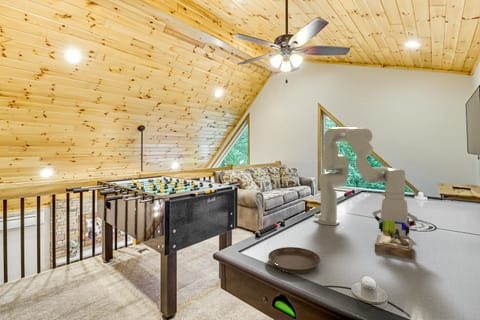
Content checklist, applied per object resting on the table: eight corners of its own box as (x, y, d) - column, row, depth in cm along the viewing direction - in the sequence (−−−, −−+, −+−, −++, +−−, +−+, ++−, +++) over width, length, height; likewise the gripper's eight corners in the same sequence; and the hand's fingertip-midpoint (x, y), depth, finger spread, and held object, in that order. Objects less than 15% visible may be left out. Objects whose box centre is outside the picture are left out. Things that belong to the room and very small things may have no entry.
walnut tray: (374, 251, 111) (374, 242, 111) (377, 241, 123) (378, 233, 123) (412, 259, 103) (412, 249, 103) (412, 247, 115) (412, 239, 115)
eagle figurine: (380, 237, 114) (396, 240, 106) (386, 223, 116) (402, 225, 107) (393, 245, 115) (410, 249, 106) (399, 231, 116) (415, 234, 108)
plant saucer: (257, 264, 101) (257, 256, 100) (287, 249, 115) (287, 242, 115) (302, 284, 86) (302, 274, 86) (329, 264, 100) (329, 256, 100)
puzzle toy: (408, 236, 129) (408, 217, 129) (387, 235, 131) (387, 217, 131) (400, 230, 139) (400, 212, 138) (380, 229, 141) (381, 212, 140)
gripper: (372, 195, 114) (371, 231, 115) (418, 199, 104) (417, 239, 105) (374, 192, 120) (373, 227, 121) (417, 196, 110) (416, 234, 111)
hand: (393, 232), depth 113 cm, fingers open, 9 cm apart
